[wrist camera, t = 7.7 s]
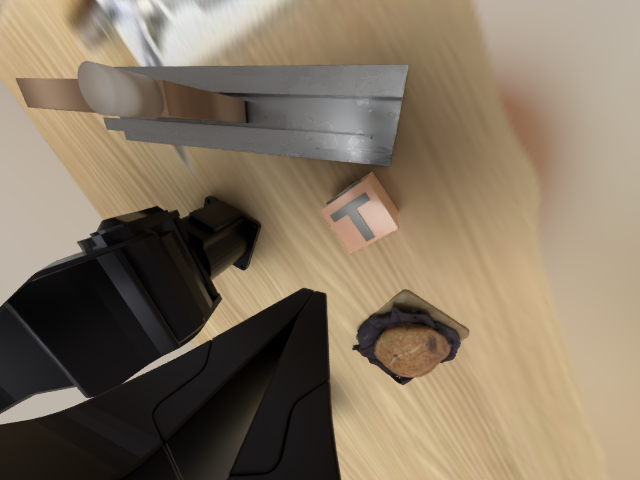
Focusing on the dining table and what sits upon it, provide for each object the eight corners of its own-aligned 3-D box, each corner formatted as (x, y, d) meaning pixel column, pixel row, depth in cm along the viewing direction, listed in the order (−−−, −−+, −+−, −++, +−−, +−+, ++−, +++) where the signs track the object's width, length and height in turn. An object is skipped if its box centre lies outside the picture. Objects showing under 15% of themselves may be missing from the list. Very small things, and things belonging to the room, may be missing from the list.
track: (408, 68, 15) (409, 57, 13) (390, 164, 17) (388, 168, 15) (118, 69, 21) (86, 62, 19) (136, 139, 24) (110, 139, 22)
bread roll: (402, 280, 22) (402, 304, 18) (477, 331, 21) (491, 365, 18) (343, 337, 27) (335, 364, 24) (403, 379, 26) (403, 412, 23)
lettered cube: (398, 212, 19) (398, 229, 15) (358, 234, 21) (349, 255, 17) (371, 169, 18) (364, 177, 14) (332, 196, 20) (317, 209, 16)
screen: (244, 96, 17) (107, 60, 9) (246, 125, 18) (122, 116, 10) (128, 93, 20) (-52, 63, 12) (135, 118, 21) (-30, 106, 13)
